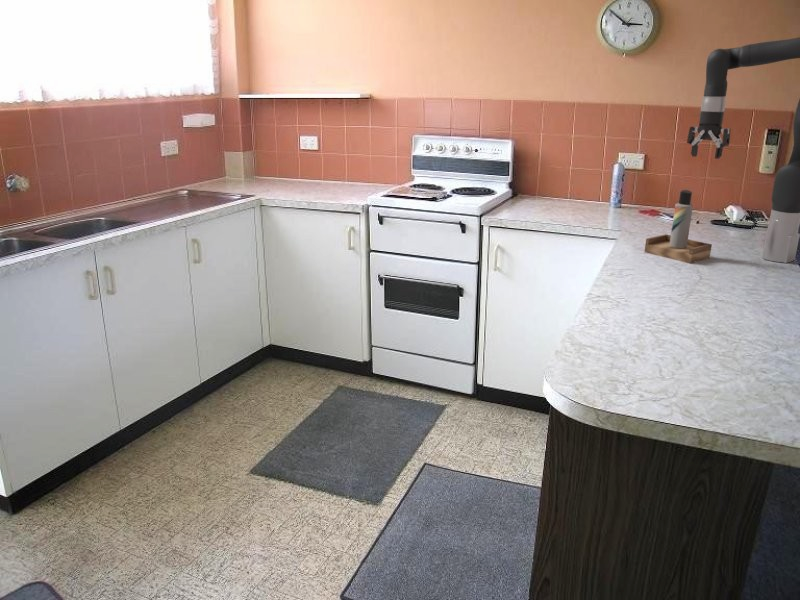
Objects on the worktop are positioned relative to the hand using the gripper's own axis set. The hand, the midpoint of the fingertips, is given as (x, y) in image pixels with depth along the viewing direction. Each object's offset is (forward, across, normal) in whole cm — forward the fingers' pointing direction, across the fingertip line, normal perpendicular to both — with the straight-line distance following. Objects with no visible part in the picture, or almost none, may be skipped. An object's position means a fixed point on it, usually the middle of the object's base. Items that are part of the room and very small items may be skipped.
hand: (705, 157), depth 237 cm
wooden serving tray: (+33, -2, +14) cm, 36 cm away
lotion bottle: (+30, -2, +14) cm, 34 cm away
